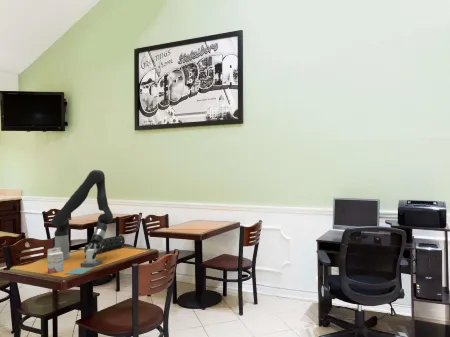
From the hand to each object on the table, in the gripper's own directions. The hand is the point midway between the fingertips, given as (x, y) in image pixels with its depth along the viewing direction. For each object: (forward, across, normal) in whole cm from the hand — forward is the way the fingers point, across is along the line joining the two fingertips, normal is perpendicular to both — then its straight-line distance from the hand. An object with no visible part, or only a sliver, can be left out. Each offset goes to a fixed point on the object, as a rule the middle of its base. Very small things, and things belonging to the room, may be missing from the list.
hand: (89, 258), depth 245 cm
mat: (+13, 0, -6) cm, 14 cm away
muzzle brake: (-28, -12, +36) cm, 48 cm away
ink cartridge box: (+13, -16, -6) cm, 21 cm away
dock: (+2, 0, +5) cm, 5 cm away
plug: (+2, 0, +5) cm, 5 cm away
